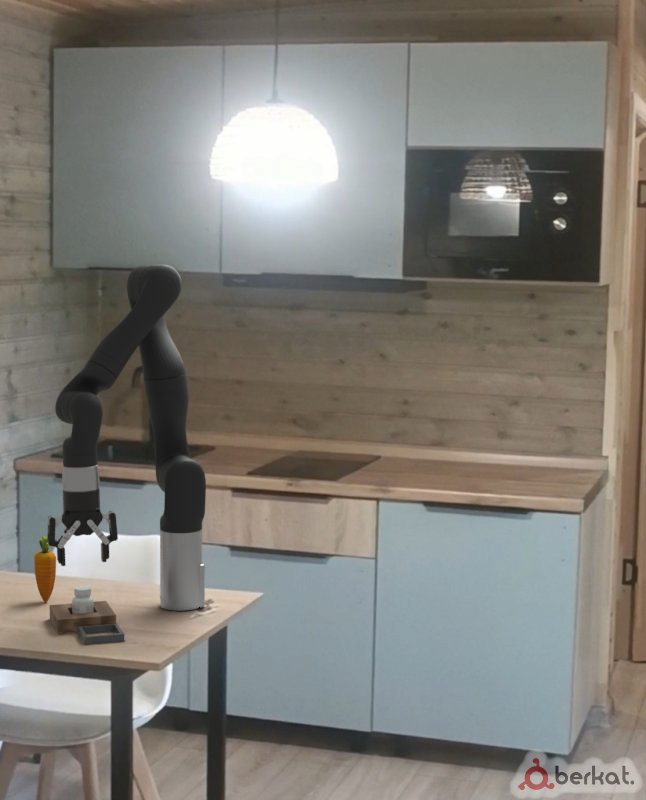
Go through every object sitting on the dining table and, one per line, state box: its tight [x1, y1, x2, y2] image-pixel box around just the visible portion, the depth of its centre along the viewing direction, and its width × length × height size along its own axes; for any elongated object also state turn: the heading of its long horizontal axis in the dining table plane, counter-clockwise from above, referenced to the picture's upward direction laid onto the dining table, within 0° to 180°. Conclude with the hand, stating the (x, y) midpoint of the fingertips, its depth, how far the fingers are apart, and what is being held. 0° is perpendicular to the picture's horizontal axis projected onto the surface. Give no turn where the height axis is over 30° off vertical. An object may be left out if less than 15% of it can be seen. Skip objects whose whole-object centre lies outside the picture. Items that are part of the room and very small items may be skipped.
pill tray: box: [77, 623, 125, 646], centre depth 269 cm, size 8×8×2 cm
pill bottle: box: [71, 585, 94, 614], centre depth 278 cm, size 4×4×8 cm
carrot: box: [33, 535, 57, 603], centre depth 295 cm, size 5×5×15 cm
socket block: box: [49, 600, 117, 635], centre depth 279 cm, size 12×12×3 cm
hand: (83, 563), depth 277 cm, fingers open, 8 cm apart
